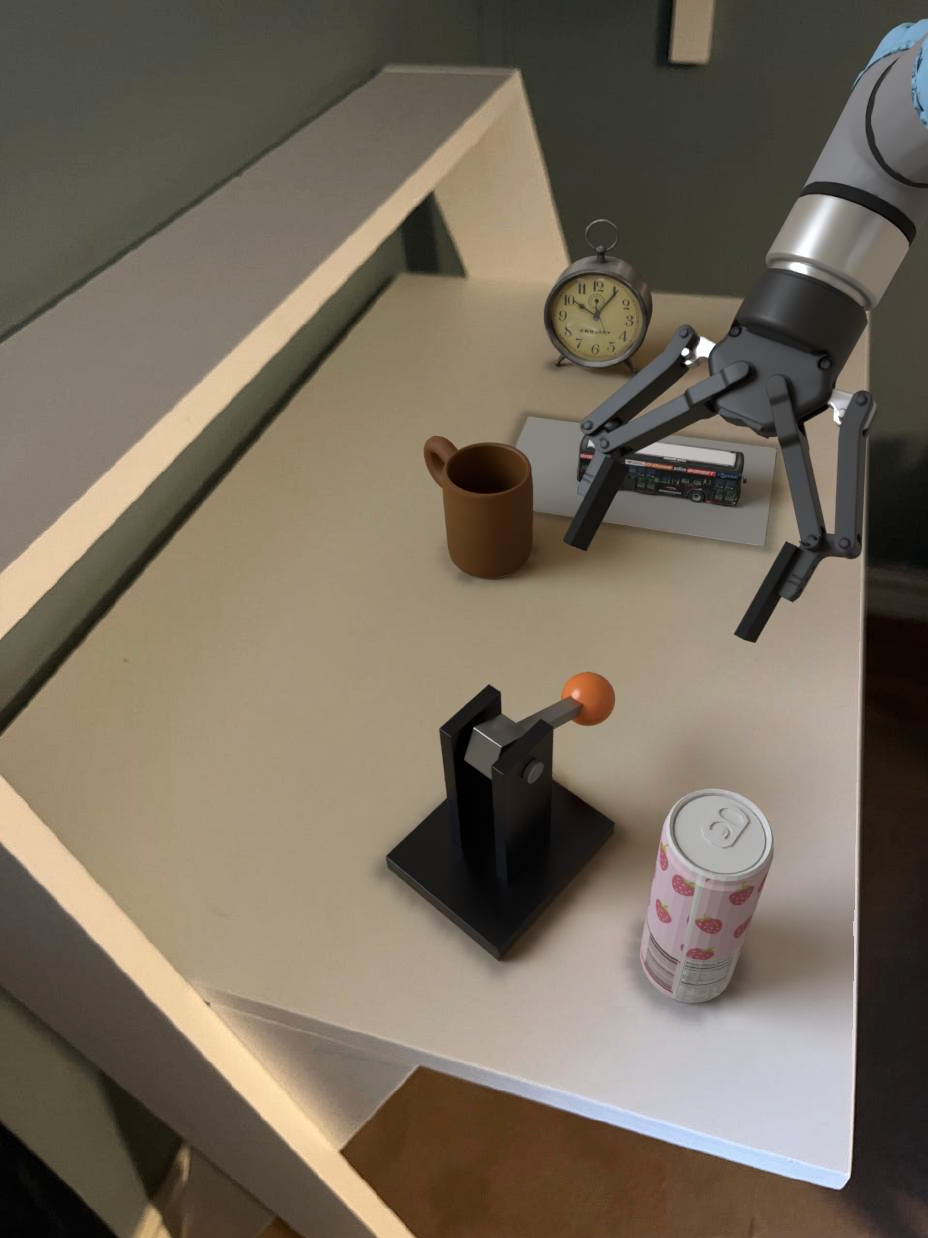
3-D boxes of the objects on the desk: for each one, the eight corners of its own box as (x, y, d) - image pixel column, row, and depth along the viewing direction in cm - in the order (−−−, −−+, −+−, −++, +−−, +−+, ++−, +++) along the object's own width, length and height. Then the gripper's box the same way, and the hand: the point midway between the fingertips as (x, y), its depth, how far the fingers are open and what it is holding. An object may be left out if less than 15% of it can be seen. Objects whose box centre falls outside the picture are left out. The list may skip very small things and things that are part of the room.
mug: (400, 528, 89) (390, 444, 82) (463, 491, 92) (458, 408, 85) (486, 595, 82) (482, 510, 76) (550, 553, 86) (552, 468, 79)
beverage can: (736, 927, 61) (780, 794, 50) (729, 1015, 57) (775, 893, 46) (645, 908, 62) (669, 774, 51) (633, 993, 58) (656, 869, 47)
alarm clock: (542, 372, 106) (543, 226, 94) (553, 346, 109) (555, 203, 97) (641, 384, 103) (655, 236, 91) (650, 357, 107) (664, 211, 95)
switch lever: (573, 699, 67) (588, 656, 66) (615, 726, 65) (632, 682, 64) (452, 761, 57) (466, 712, 56) (497, 795, 56) (514, 745, 54)
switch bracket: (503, 756, 71) (498, 628, 61) (614, 834, 66) (629, 708, 56) (387, 867, 65) (361, 746, 55) (499, 962, 60) (492, 848, 50)
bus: (764, 546, 85) (773, 509, 82) (491, 504, 91) (489, 468, 88) (776, 448, 94) (784, 412, 91) (528, 416, 100) (528, 381, 97)
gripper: (1019, 377, 58) (838, 685, 61) (668, 259, 70) (535, 522, 74) (1016, 334, 51) (814, 681, 55) (631, 212, 63) (487, 503, 67)
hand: (654, 591), depth 64 cm, fingers open, 13 cm apart
